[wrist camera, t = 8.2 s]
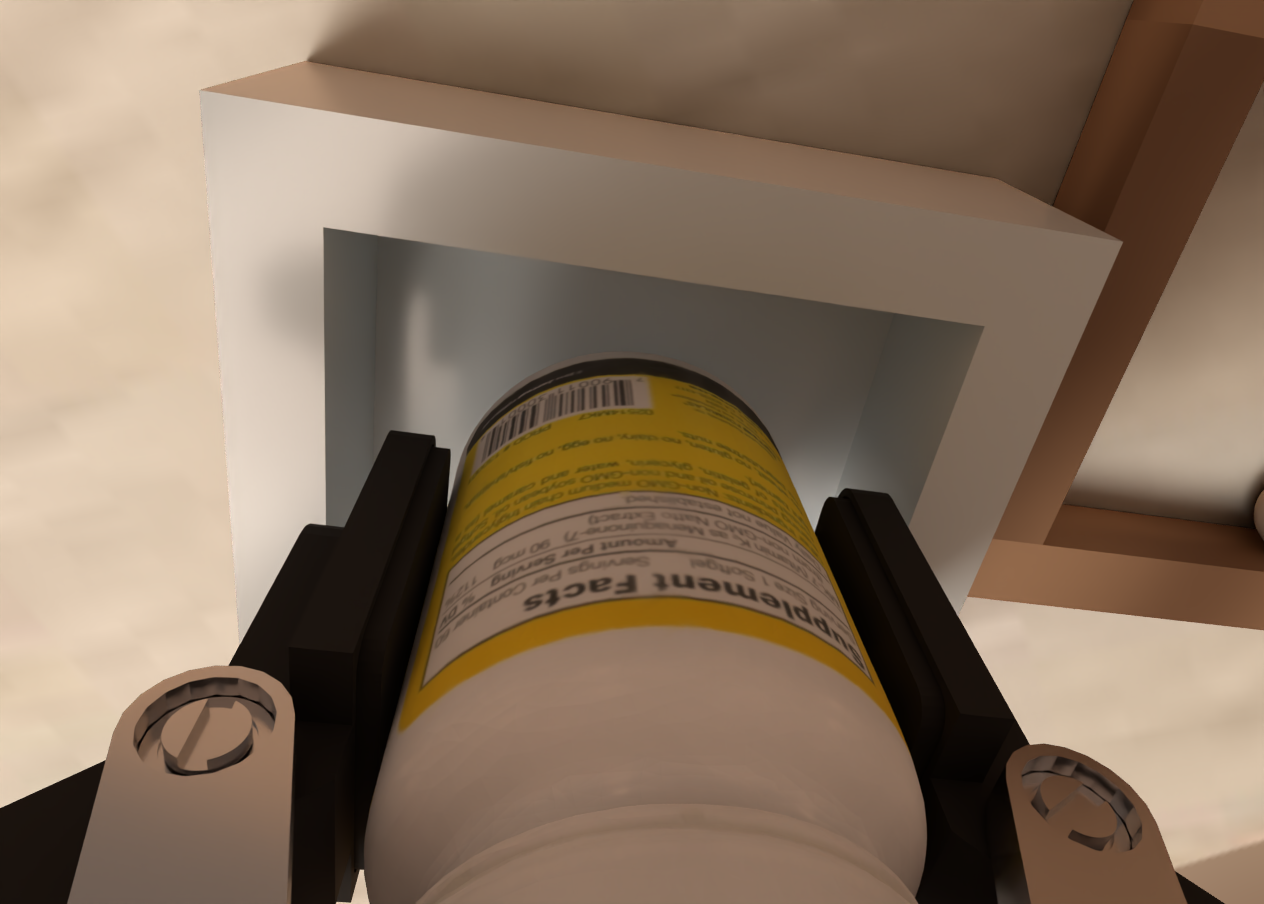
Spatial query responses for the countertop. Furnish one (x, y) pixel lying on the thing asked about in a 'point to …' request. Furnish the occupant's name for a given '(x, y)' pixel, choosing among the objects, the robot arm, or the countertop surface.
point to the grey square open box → (617, 295)
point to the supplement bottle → (637, 670)
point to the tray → (1138, 326)
